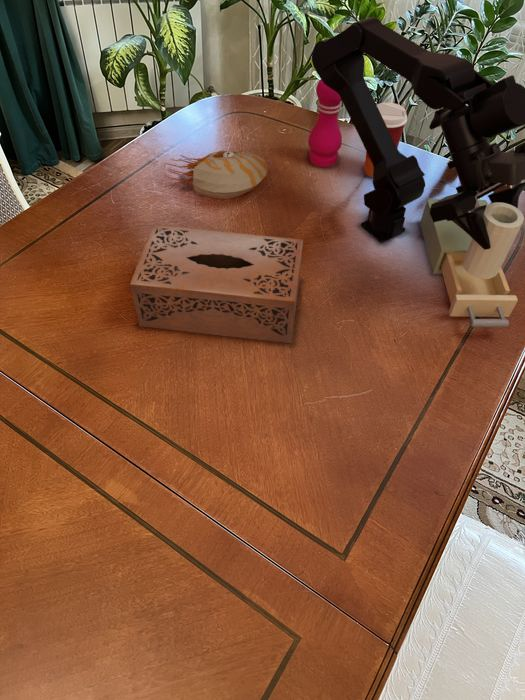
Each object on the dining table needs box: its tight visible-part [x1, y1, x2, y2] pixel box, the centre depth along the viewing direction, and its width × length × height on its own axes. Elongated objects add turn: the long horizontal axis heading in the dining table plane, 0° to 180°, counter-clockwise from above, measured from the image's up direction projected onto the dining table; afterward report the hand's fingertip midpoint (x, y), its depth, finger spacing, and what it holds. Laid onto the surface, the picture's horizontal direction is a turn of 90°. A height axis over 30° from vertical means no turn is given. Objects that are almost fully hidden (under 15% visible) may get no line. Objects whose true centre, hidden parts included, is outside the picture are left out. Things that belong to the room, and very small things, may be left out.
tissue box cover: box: [129, 223, 304, 344], centre depth 96 cm, size 26×14×10 cm, turn 83°
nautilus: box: [164, 150, 269, 200], centre depth 118 cm, size 8×22×15 cm
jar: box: [463, 202, 525, 279], centre depth 93 cm, size 6×6×11 cm
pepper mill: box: [308, 78, 343, 168], centre depth 119 cm, size 7×7×20 cm
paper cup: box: [363, 101, 408, 179], centre depth 119 cm, size 8×8×14 cm
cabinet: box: [419, 198, 489, 275], centre depth 108 cm, size 14×11×6 cm
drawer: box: [440, 253, 519, 329], centre depth 99 cm, size 18×10×4 cm, turn 0°
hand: (500, 241), depth 91 cm, fingers closed on jar, 6 cm apart
